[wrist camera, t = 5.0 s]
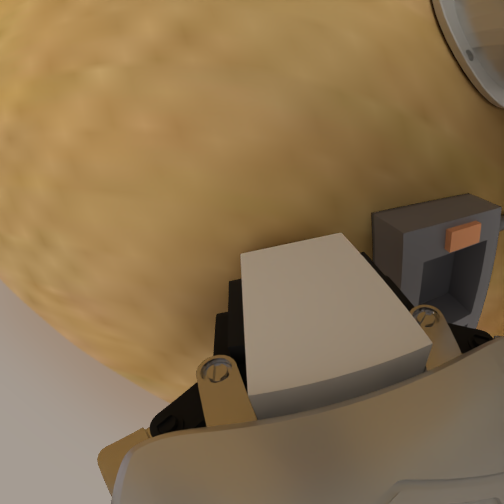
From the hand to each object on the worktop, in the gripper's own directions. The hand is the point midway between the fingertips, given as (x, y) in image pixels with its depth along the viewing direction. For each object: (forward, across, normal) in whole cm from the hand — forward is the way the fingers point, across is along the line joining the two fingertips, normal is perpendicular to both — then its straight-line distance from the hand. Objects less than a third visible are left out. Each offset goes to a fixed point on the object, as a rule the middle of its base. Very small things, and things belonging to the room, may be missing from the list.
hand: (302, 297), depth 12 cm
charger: (+1, 0, 0) cm, 1 cm away
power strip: (+5, -14, +7) cm, 16 cm away
